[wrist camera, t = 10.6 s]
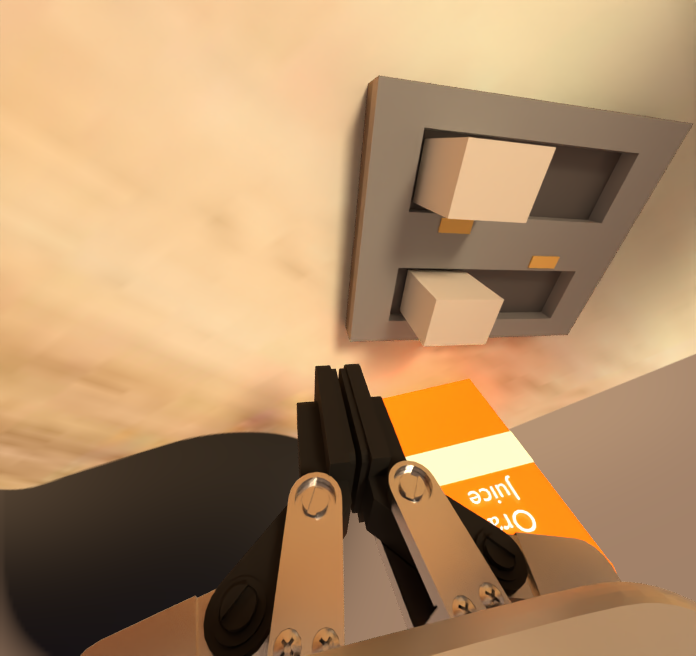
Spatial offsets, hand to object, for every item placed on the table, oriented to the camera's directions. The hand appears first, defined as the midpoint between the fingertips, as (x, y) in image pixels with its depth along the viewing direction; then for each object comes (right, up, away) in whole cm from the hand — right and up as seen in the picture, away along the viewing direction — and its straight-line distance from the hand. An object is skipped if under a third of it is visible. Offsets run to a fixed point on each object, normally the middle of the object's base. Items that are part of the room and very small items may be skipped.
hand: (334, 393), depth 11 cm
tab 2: (+6, +5, +8) cm, 12 cm away
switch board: (+10, +9, +8) cm, 15 cm away
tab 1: (+6, +11, +4) cm, 14 cm away
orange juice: (+8, -6, +18) cm, 21 cm away
